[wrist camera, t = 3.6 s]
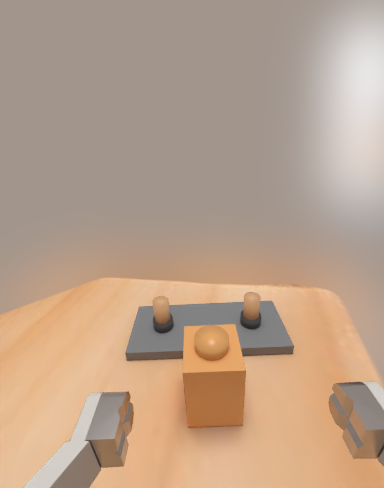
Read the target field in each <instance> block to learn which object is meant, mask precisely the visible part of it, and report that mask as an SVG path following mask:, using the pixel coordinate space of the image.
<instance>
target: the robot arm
mask: <svg viewBox="0 0 384 488" xmlns="http://www.w3.org/2000/svg"><path fill="white" fill-rule="evenodd" d="M332 389H333V391H334V393H333V394H332V395H331V396H330V398H329V408H330V412H331V415H332V417H333V419H334V421H335V423H336V424H337V425H338V426H339V427H340V428H341V429H343V436H342V437H343V439H344V441H345V443H346V445H347V447H348V449H349V451H350V453H351V455H352V457H353V459H378V461H379V462H380V463H381V464H382V465H383V466H384V390H383V388H382V387H381V386H380V385H379V384H378V383H377V382H373V381H372V382H348V383H336V384H334V385H333V388H332ZM129 401H130V394H129V392H99V393H90V394H89V396H88V397H87V399H86V402H85V404H84V407H83V409H82V412H81V414H80V417H79V419H78V422H77V425H76V427H75V430H74V432H73V435H72V437H71V440H70V441H68V442H65V443H64V444H63V445H62V446H61V447H60V449H59V450H58V451H57V452H56V453H55V454H54V455H53V456H52V457H51V458H50V459H49V460H48V461H47V463H46V464H45V465H44V466H43V467H42V468H41V469H40V470H39V471H38V472H37V473H36V474H35V475H34V476H33V478H32V479H31V480H30V481H29V482H28V483H27V484H26V485H25V486H24V487H23V488H89V487H90V486H91V484H92V483H93V481H94V480H95V478H96V477H97V475H98V474H99V472H100V471H101V468H107V467H122V466H124V464H125V459H126V454H127V450H128V445H129V444H128V441H127V438H126V437H127V436H128V434H129V433H130V432H131V430H132V424H133V414H134V412H133V405H132V403H131V402H129Z"/></svg>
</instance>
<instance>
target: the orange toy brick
mask: <svg viewBox="0 0 384 488" xmlns="http://www.w3.org/2000/svg"><path fill="white" fill-rule="evenodd" d="M245 378H246V368H245V364H244V360H243V355H242V351H241V347H240V343H239V338H238V334H237V330H236V325H235V324H225V325H201V326H184V348H183V381H184V391H185V401H186V410H187V420H188V427H212V426H240V425H242V423H243V408H244V393H245Z"/></svg>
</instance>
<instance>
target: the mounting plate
mask: <svg viewBox="0 0 384 488" xmlns="http://www.w3.org/2000/svg"><path fill="white" fill-rule="evenodd" d="M225 324H235V325H236V330H237V334H238V338H239V343H240V347H241V351H242V355H243V356H246V355H270V354H293V348H294V345H293V343H292V341H291V339H290V337H289V335H288V333H287V331H286V329H285V327H284V325H283V322H282V320H281V318H280V316H279V314H278V312H277V310H276V308H275V306H274V304H273V302H272V301H260V296H259V295H258V294H257V293H254V292H248V293H246V294H245V295H244V302H233V303H210V304H188V305H169V302H168V298H167V297H164V296H159V297H156V298H155V299H154V300H153V306H144V307H139V309H138V312H137V316H136V319H135V323H134V326H133V329H132V333H131V336H130V339H129V343H128V346H127V350H126V357H127V360H149V359H173V358H183V348H184V326H201V325H225Z"/></svg>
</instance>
